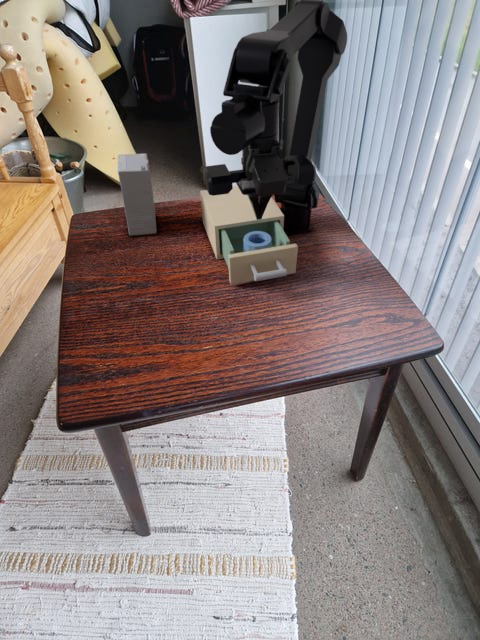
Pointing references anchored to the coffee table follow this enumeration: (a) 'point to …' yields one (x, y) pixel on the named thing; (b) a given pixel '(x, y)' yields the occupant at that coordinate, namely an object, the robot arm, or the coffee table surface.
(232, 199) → the cabinet
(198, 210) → the coffee table surface
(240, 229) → the drawer
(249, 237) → the jar
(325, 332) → the coffee table surface
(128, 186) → the cosmetic box
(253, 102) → the robot arm
